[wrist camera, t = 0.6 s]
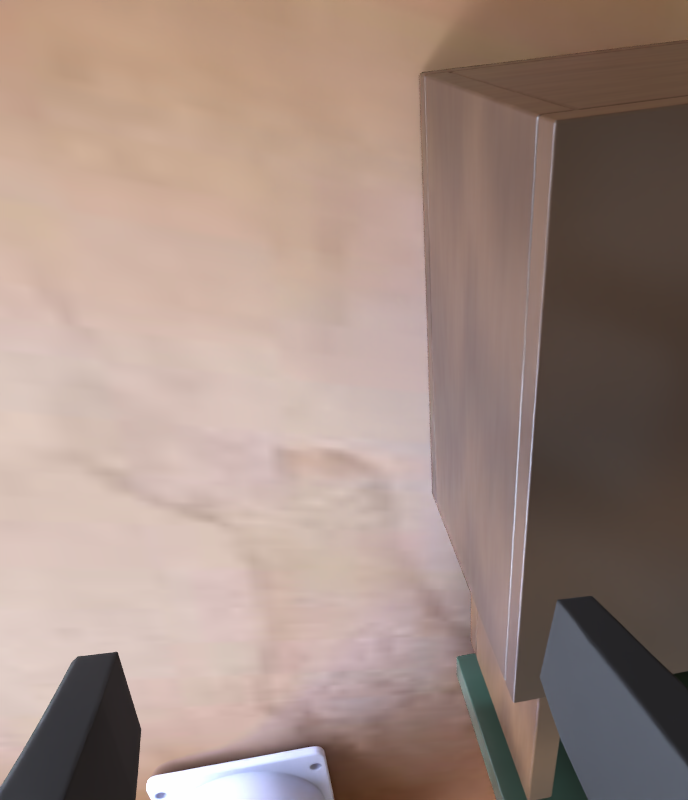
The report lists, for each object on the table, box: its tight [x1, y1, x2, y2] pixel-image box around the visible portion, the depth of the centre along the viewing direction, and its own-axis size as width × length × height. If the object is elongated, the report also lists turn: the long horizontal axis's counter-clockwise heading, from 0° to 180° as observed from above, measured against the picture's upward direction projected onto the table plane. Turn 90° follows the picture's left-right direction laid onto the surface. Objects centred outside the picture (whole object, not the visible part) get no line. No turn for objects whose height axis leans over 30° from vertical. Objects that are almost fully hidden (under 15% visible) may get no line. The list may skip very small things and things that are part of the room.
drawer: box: [457, 595, 688, 800], centre depth 22 cm, size 16×10×6 cm, turn 6°
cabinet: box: [419, 40, 688, 703], centre depth 16 cm, size 13×11×8 cm
